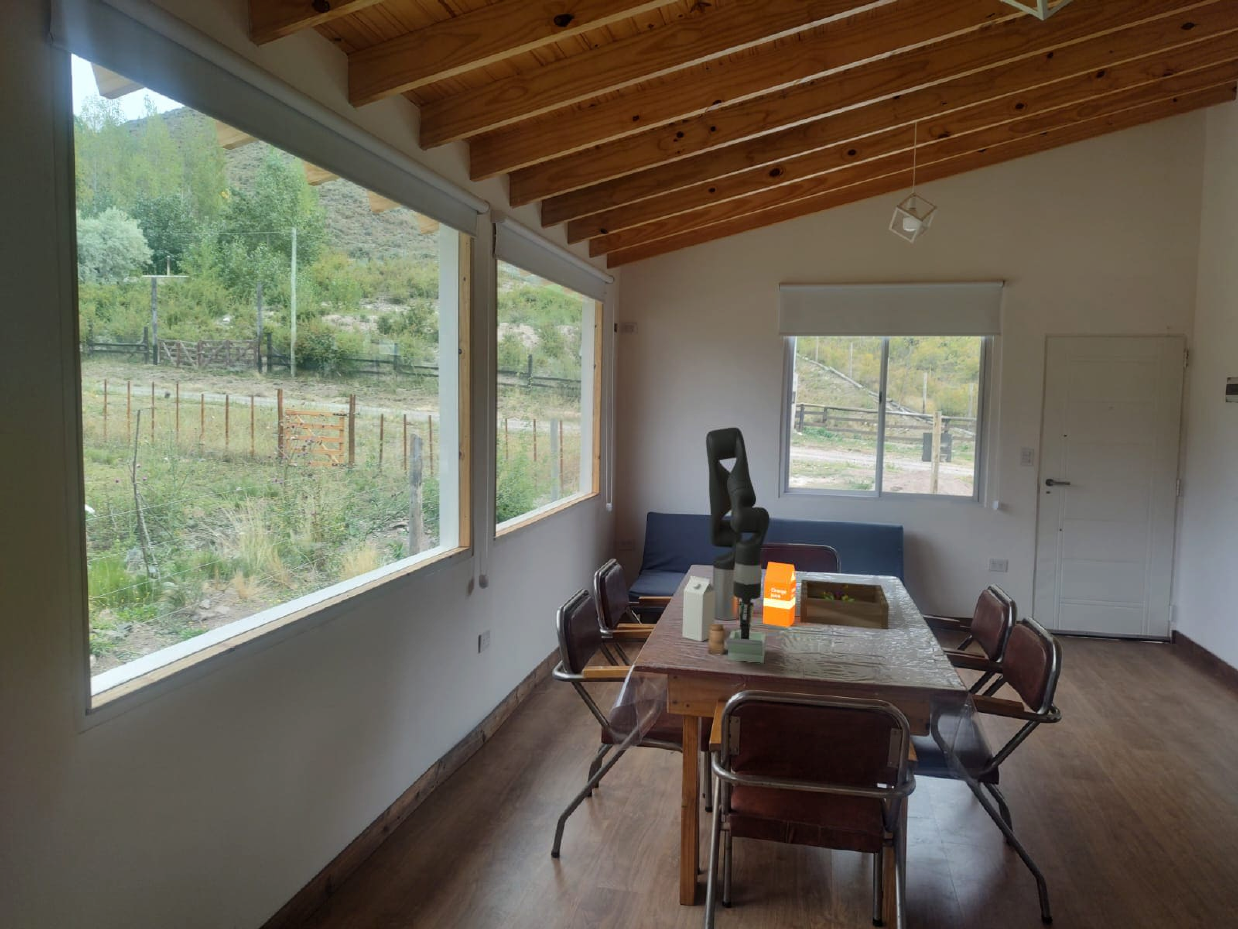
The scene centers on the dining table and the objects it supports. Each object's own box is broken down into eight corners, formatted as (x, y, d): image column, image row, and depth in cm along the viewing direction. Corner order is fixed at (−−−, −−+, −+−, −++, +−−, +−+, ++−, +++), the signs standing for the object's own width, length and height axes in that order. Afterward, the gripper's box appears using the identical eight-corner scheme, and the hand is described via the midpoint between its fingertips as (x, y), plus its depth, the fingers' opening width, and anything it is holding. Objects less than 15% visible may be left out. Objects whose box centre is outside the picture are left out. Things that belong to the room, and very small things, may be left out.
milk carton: (695, 632, 256) (696, 573, 254) (713, 637, 251) (716, 577, 250) (682, 637, 250) (684, 577, 249) (701, 642, 246) (703, 581, 244)
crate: (730, 649, 240) (731, 629, 239) (764, 652, 238) (765, 632, 237) (727, 660, 230) (728, 640, 229) (763, 663, 228) (764, 643, 227)
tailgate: (728, 649, 229) (726, 637, 220) (762, 652, 227) (762, 640, 218) (728, 652, 228) (726, 641, 219) (762, 656, 226) (762, 644, 217)
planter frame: (800, 600, 296) (801, 579, 296) (879, 607, 290) (881, 585, 290) (800, 622, 269) (801, 598, 269) (887, 629, 263) (889, 605, 262)
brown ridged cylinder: (709, 649, 239) (710, 622, 239) (724, 650, 238) (725, 623, 238) (707, 654, 235) (708, 627, 234) (723, 655, 234) (724, 628, 233)
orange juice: (769, 617, 274) (771, 559, 272) (794, 621, 270) (797, 562, 269) (762, 623, 267) (764, 564, 265) (788, 627, 263) (791, 567, 262)
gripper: (735, 573, 227) (733, 633, 229) (731, 583, 214) (729, 647, 216) (762, 575, 226) (759, 635, 227) (760, 586, 213) (757, 649, 214)
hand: (744, 641), depth 221 cm, fingers closed
